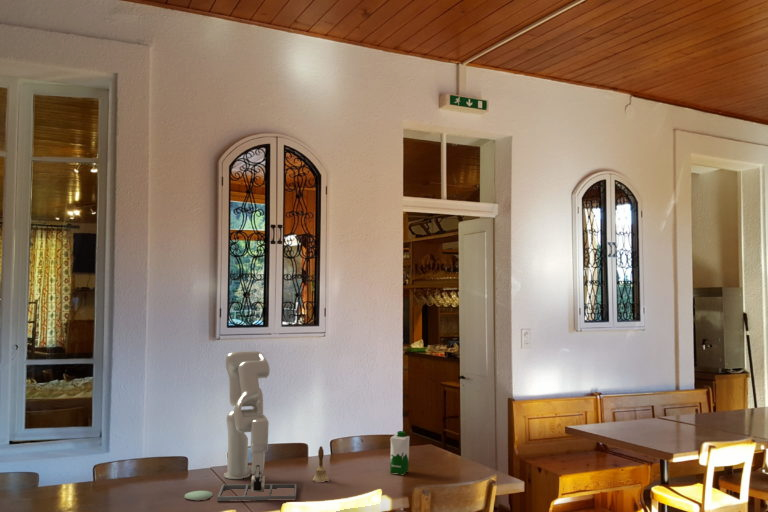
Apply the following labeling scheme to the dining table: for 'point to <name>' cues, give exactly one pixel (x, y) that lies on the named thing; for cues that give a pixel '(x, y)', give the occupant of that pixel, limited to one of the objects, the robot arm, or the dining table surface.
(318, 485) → the dining table surface
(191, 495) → the mat
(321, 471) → the hand bell
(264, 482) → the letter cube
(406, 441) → the milk carton
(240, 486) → the organiser
